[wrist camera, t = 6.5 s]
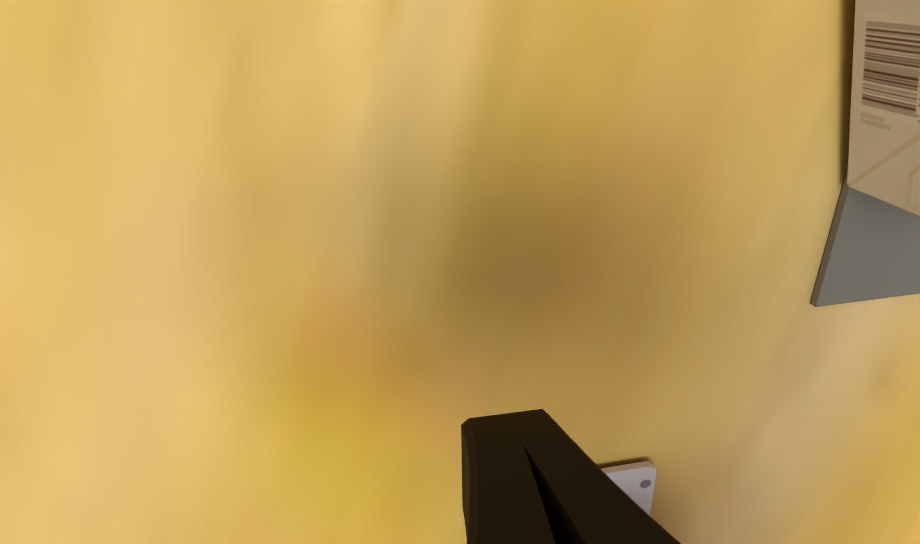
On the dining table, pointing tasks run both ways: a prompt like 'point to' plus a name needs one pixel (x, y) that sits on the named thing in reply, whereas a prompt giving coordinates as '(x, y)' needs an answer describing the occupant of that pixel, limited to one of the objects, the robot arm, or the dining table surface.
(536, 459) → the robot arm
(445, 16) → the dining table surface
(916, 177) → the supplement box
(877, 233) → the mat
